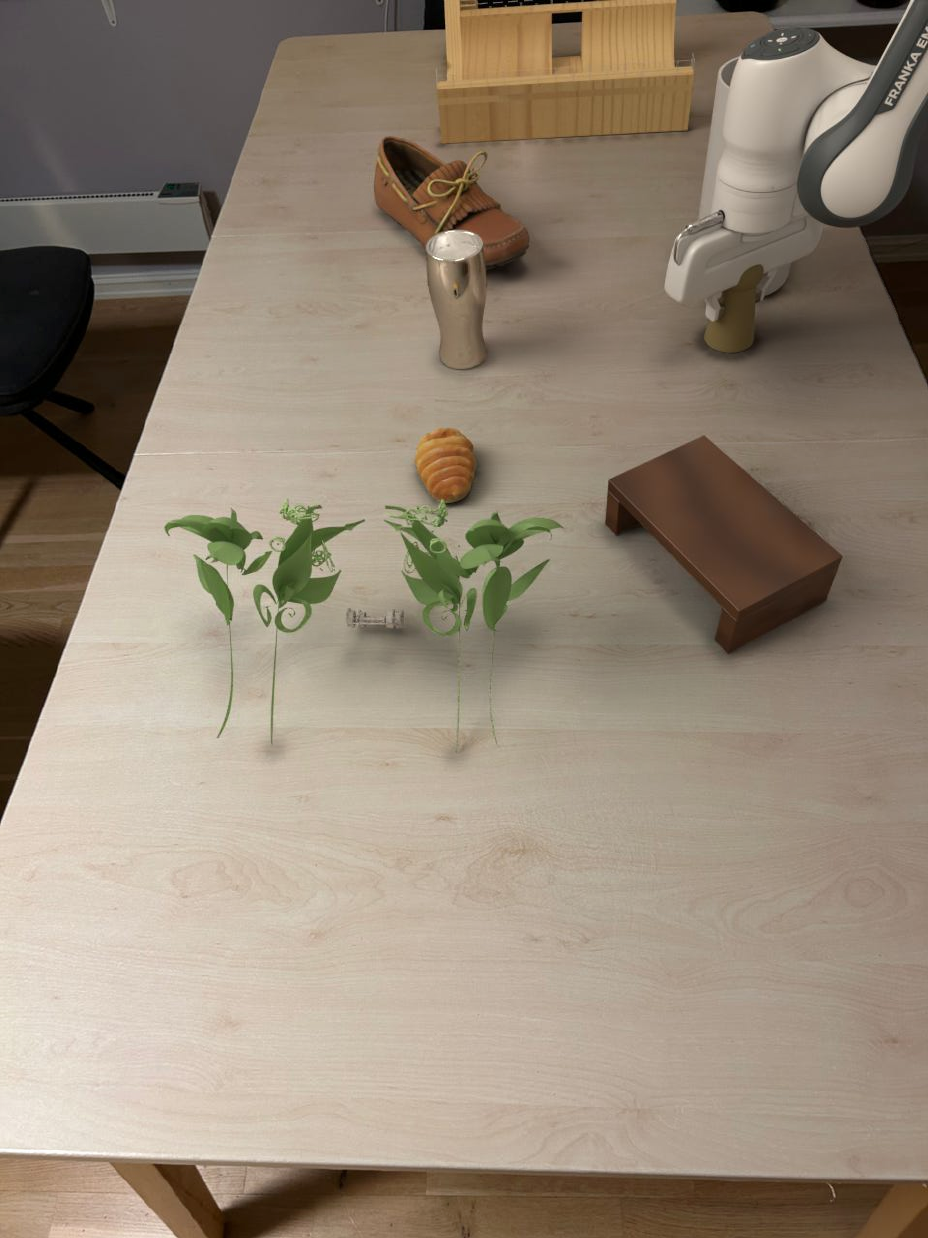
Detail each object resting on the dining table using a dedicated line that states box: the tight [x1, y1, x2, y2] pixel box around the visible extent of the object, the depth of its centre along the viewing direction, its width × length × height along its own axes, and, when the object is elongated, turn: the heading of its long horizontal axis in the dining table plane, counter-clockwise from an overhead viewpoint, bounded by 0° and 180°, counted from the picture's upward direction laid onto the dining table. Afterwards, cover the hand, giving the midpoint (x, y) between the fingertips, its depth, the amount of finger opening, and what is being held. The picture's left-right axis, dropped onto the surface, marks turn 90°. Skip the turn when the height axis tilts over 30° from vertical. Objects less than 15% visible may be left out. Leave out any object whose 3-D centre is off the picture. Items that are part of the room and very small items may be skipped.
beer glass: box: [425, 230, 488, 370], centre depth 112 cm, size 7×7×15 cm
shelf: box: [604, 435, 844, 655], centre depth 92 cm, size 12×20×6 cm, turn 29°
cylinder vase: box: [697, 55, 792, 297], centre depth 115 cm, size 12×12×25 cm
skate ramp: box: [435, 0, 696, 144], centre depth 157 cm, size 40×35×16 cm
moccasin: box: [373, 135, 531, 270], centre depth 130 cm, size 31×12×12 cm, turn 26°
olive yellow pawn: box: [703, 264, 764, 354], centre depth 112 cm, size 6×6×11 cm
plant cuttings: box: [164, 498, 564, 753], centre depth 84 cm, size 35×17×22 cm
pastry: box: [414, 427, 478, 504], centre depth 103 cm, size 9×7×4 cm
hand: (734, 308), depth 113 cm, fingers closed on olive yellow pawn, 4 cm apart
